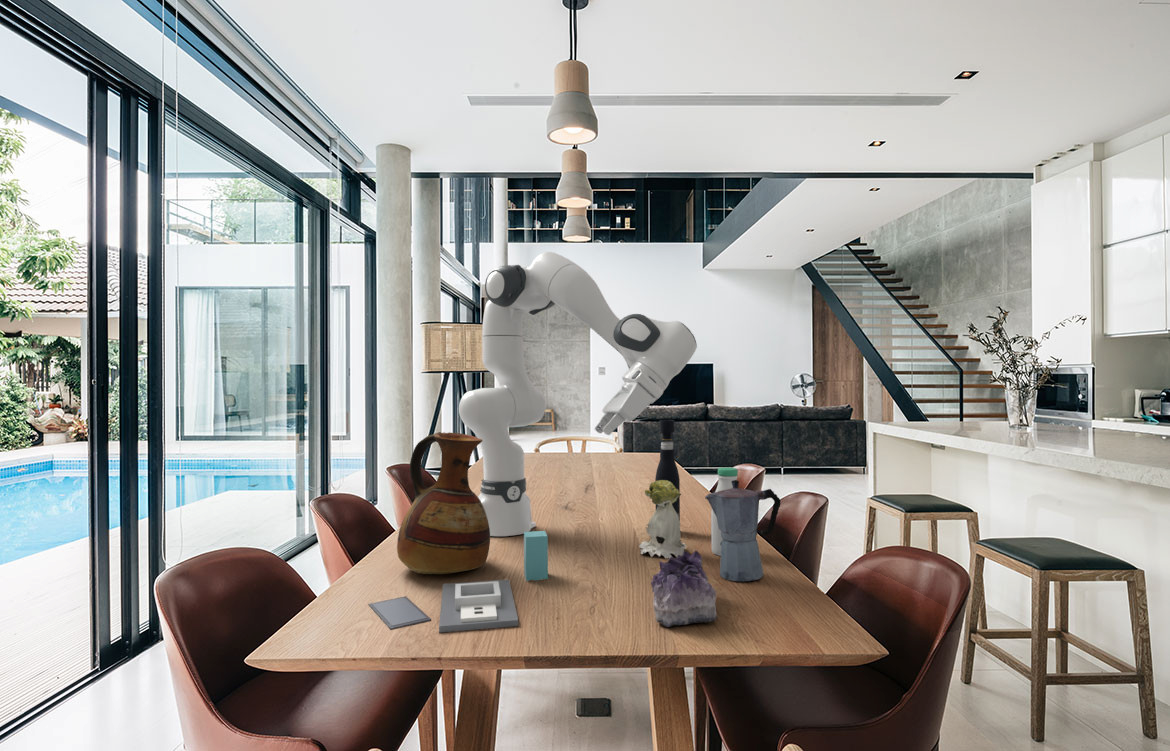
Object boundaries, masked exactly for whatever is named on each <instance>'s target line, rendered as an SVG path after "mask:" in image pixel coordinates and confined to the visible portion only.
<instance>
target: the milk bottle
mask: <svg viewBox="0 0 1170 751" xmlns="http://www.w3.org/2000/svg"><path fill="white" fill-rule="evenodd" d="M738 474H739V473H738V469H737V468H735V467H730V466H729V467H719V468H718V469H717V478H718V482H717V486H716V489H715V490H714V492H718V491H722V490H726V489H731V488H733V486H732V483H731V481H733V480H737V479H738ZM737 481H738V480H737ZM710 514H711V516H710V517H711V520H710V521H711V522H710V523H711V524H710V525H711V532H710V534H711V536H710V537H711V539H710V540H711V552H712V554H713V555H716V556H720V557H721V545H720V542H721V541H722V537H721V530H720V529H719V527H718V522H717V517H716V515H715V513H714V511H713V509H712V508H711V513H710Z"/></svg>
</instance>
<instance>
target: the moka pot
mask: <svg viewBox="0 0 1170 751" xmlns="http://www.w3.org/2000/svg"><path fill="white" fill-rule="evenodd" d="M731 483H732V486H733V488H731V489H726V490H722V491H718V492H715V491H714V492H711V493H708V494H707V495H705V496H704V499H705V500H707V502H708V504H709V505H710V507H711V509H713V511H714V513H715V515H716V517H717V522H718V527H719V529H720V530H721V537H722V541H721V542H720V545H721V556H720V564H719V565H720V566H719V576H720V577H721V578H722V579H725V580H728V581H731V582H752V581H757V580H760V579H762V578H763V577H764V568H763V563H762V558H761V554H760V548H759V543H758V540H757V537H758V536H757V535H758V531H757V529H758V528H759V527H758V526H759V525H758V523H759V510H760V508H759V507H760V501H764V500H767V499H772V500H773V505H772V510H771V514H770V517H769V518H770V519H769V523H768V527H767V529H764V530H760V531H759V532H760V534H761V536H764V535H765V536H767V535H771V534H773V532H774V527H775V524H776V522H777V521H776V519H777V516H778V514H779V510H780V507H781V503H782V501H781V498H779V497H778V495H777V494H776V493H775V492H774V491H773V490H772V489H771V488H767V489H764V490H763V489H762V490H751V489H745V488H740V487H739V483H740V481H739V480H733V481H731Z"/></svg>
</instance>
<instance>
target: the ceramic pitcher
mask: <svg viewBox="0 0 1170 751" xmlns="http://www.w3.org/2000/svg"><path fill="white" fill-rule="evenodd" d="M482 441H483V440H482V439H479V438H477V436H473V435H470V434H469V435H468V434H465V433H458V432H450V431H449V432H441V431H439V432H435V433H433V434H431V435H427V436H426V437H423V439H421V440H420V441H418V442H417V444H416V445H415V446H414V449H413V452H412V453H411V457H410V461H409V474H410V479H411V482H412V486H413V490H414V493H415V494H414V501H413V502H412V503H411V505H410V506H409V508H408V510H407V511H406V513H405V515H404V517H403V519H402V522H401V525H400V527H399V531H398V535H397V542H396V551H397V556H398V559H399V561H401V563H402V564H403V565H404V566H406V568H408V569H409V570H411V571H412V572H415V573H419V574H424V575H448V574H453V573H454V574H455V573H462V572H465V571H467V572H468V571H473V570H475V569H478V568H481V567H482V566H484V565H485V563H486V561H487V559H488V556H489V552H490V545H491V536H490V528H489V524H488V519H487V515H486V512H485V509H484V507H483V505H482V503H481V501H480V499H479V498H478V495H477V494H476V493H475V492H474V491H473V490H472V489H471V488H470V484H469V477H468V476H469V467H470V462H471V457H472V454H473V452H474V450H475V449H476V448H477V446H479V445H480V443H481V442H482ZM436 442H437V443H438V447H439V448H440V452H441V466H440V470H439V473H438V477H437V479H436V480H435V481H436V482H434V484H433V485H432V486H429V487H426V485H425V482H424V479H423V474H422V462H423V458H424V455H425V453H426V451H427V450H428V448H429V446H431V445H432V444H434V443H436Z"/></svg>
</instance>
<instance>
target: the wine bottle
mask: <svg viewBox="0 0 1170 751" xmlns="http://www.w3.org/2000/svg"><path fill="white" fill-rule="evenodd" d="M659 433H660V434H661V433H662V434H661V439H662V441H661V443H660V445H661V446H660V450H659V462H658V465H657V468H656V473H655V479H654V480H655V481H658V480H667V481H669V482H671V483H672V484H673V485H674V486H675V488H676V489H678V491H679V493H680V490H681V487H680V485H681V484H680V474H679V470H678V467H677V464H676V461H675V460H676V459H675V449H674V442H673V438H672V437H673V436H672V435H673V433H675V420H673V419H660V420H659ZM655 481H654V482H655ZM680 494H681V493H680ZM680 499H681V496H680V497H678V498H677V500H676V501H675V502H673V503H672V506H673V508H674V510H675V511H676V513H677V515H678V517H679V521H680V522H681V505H680V504H681V503H680V502H681V500H680ZM657 507H658V505H657V504H655V510H656V509H657Z"/></svg>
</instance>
